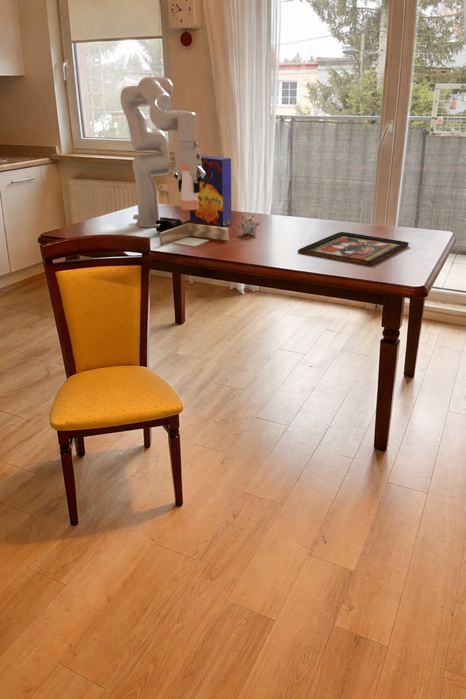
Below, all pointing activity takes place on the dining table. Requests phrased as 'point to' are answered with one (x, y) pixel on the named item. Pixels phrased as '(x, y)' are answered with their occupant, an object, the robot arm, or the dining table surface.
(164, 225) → the end cap
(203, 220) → the cereal box
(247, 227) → the grey spiky star ornament
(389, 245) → the framed icon painting
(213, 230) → the corner walls
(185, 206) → the pepper shaker
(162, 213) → the dining table surface
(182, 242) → the pad
